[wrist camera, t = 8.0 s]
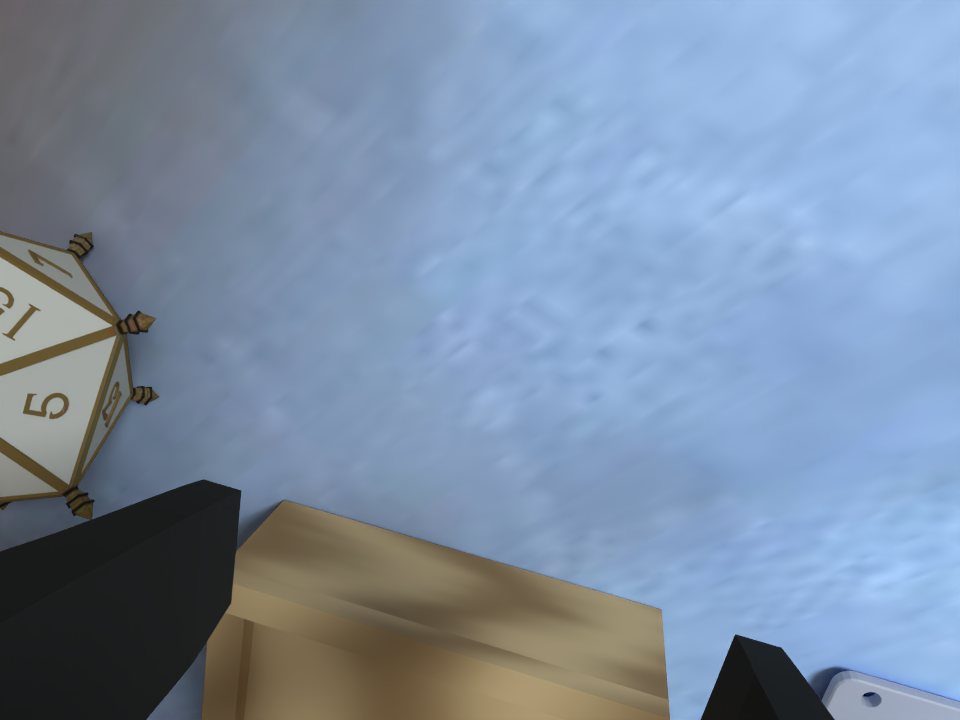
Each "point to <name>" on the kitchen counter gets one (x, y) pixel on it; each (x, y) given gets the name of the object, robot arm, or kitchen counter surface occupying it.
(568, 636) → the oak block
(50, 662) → the robot arm
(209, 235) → the kitchen counter surface
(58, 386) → the game die
